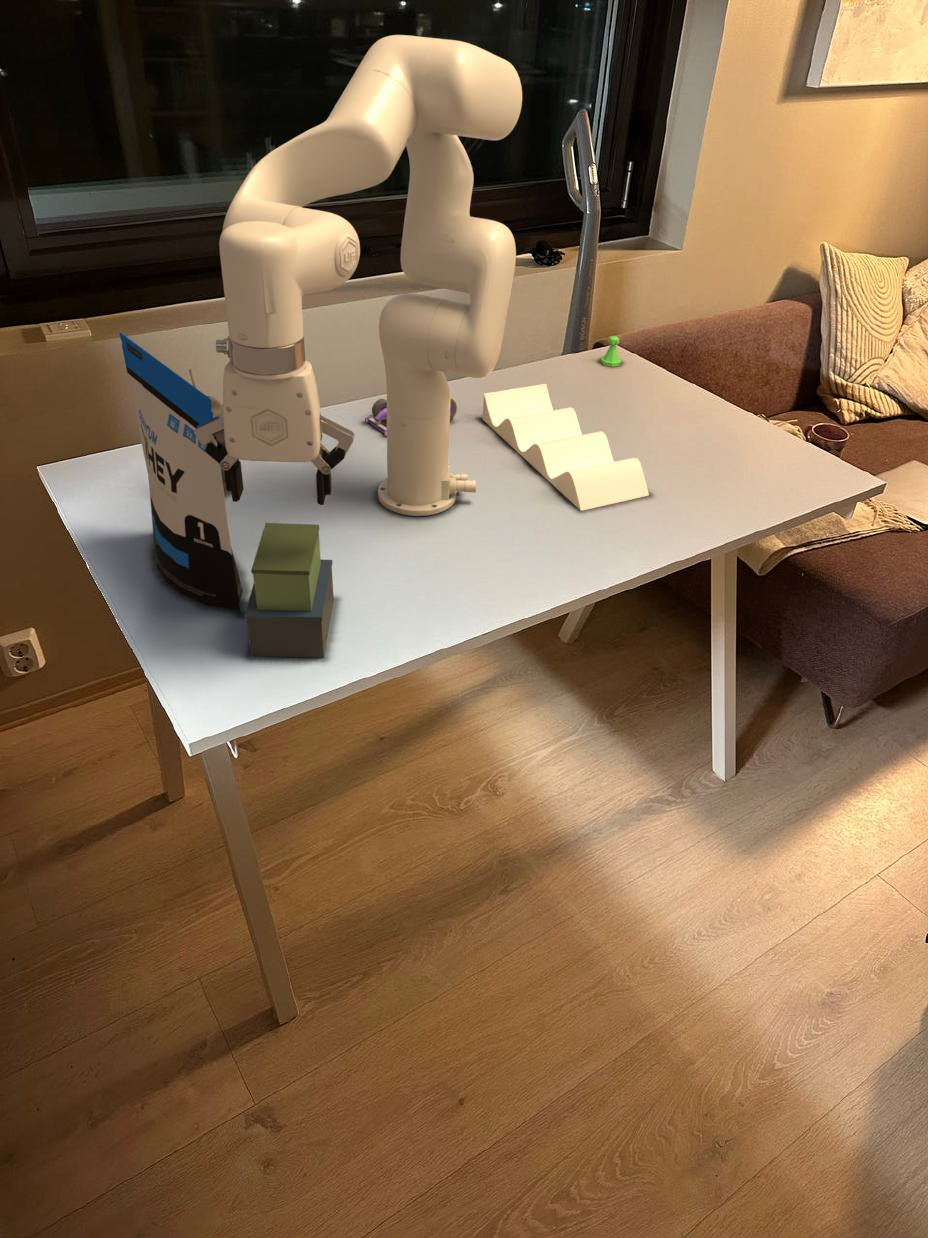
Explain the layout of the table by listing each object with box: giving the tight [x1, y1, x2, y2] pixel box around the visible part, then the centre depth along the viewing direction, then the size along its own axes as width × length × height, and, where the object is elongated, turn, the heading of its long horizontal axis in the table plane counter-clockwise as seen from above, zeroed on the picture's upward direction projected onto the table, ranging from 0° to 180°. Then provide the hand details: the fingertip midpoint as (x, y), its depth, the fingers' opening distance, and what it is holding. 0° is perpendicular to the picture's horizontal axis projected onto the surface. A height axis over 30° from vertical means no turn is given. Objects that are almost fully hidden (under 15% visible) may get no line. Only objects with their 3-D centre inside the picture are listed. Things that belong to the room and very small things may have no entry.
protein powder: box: [118, 331, 244, 615], centre depth 113 cm, size 10×24×30 cm, turn 40°
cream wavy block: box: [481, 383, 650, 512], centre depth 153 cm, size 13×35×5 cm, turn 26°
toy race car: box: [364, 398, 458, 437], centre depth 160 cm, size 10×15×6 cm, turn 128°
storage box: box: [243, 559, 335, 659], centre depth 112 cm, size 12×9×6 cm
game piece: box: [600, 335, 622, 368], centre depth 187 cm, size 4×4×6 cm
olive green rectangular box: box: [250, 522, 322, 611], centre depth 108 cm, size 10×7×6 cm, turn 1°
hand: (280, 497), depth 101 cm, fingers open, 9 cm apart
